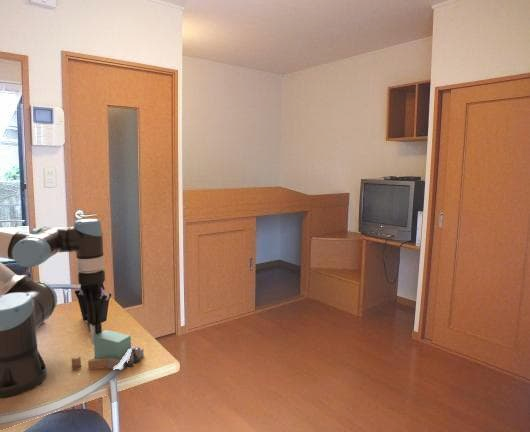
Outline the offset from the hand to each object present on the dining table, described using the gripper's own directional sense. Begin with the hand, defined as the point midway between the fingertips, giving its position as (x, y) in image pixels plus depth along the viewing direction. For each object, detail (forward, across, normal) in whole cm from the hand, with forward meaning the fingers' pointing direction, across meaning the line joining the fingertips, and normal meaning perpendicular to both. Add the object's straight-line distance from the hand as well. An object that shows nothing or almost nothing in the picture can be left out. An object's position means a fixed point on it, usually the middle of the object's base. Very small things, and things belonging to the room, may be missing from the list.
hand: (96, 342), depth 123 cm
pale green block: (+4, -7, 0) cm, 8 cm away
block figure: (+4, -7, 0) cm, 8 cm away
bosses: (+4, -15, 0) cm, 16 cm away
